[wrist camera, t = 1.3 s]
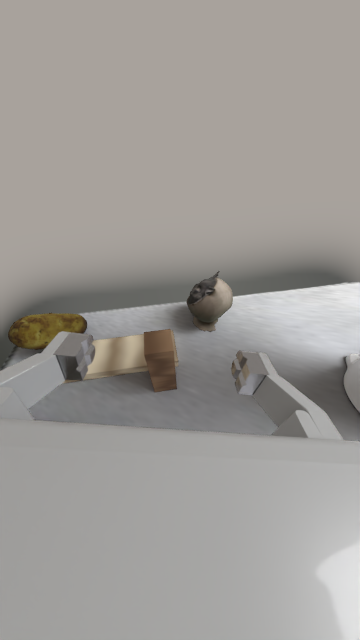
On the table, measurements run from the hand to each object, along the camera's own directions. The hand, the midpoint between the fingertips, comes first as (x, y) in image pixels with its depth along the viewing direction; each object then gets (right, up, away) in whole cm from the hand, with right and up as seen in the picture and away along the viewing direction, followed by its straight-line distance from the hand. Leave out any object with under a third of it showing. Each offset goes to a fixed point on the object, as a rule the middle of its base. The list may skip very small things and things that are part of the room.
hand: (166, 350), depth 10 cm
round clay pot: (+7, +2, +35) cm, 36 cm away
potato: (-27, -3, +31) cm, 41 cm away
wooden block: (-3, -7, +26) cm, 27 cm away
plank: (-12, -6, +27) cm, 30 cm away
